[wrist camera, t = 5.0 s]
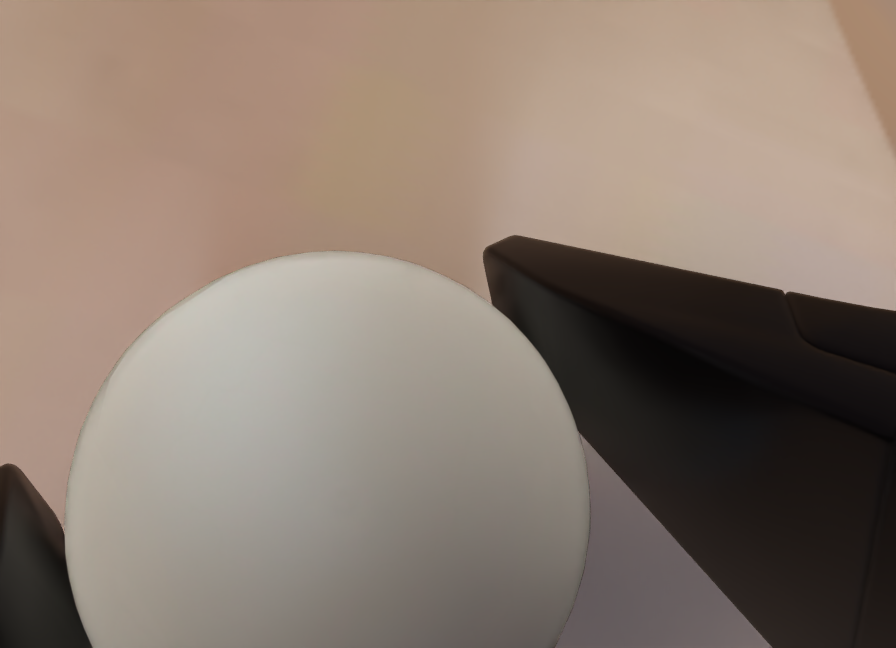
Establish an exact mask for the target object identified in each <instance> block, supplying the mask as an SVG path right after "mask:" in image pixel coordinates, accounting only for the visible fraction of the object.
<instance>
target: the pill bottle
mask: <svg viewBox="0 0 896 648" xmlns="http://www.w3.org/2000/svg"><path fill="white" fill-rule="evenodd" d="M64 531H65V555H66V562H67V569H68V575H69V580H70V584H71V588H72V592H73V597H74V601H75V605H76V608H77V610H78V613H79V616H80V619H81V621H82V624H83V627H84V629H85V632H86V634H87V636H88V638H89V640H90V643H91V645H92V647H93V648H554V647H555V646H556V644H557V642H558V640H559V637H560V635H561V633H562V631H563V628H564V626H565V624H566V622H567V619H568V617H569V615H570V613H571V611H572V608H573V606H574V602H575V599H576V596H577V593H578V589H579V586H580V582H581V579H582V576H583V572H584V568H585V561H586V555H587V548H588V541H589V534H590V491H589V480H588V472H587V465H586V460H585V455H584V451H583V447H582V443H581V439H580V436H579V433H578V430H577V427H576V424H575V420H574V417H573V415H572V413H571V410H570V408H569V405H568V403H567V401H566V399H565V397H564V395H563V393H562V390H561V388H560V386H559V384H558V382H557V380H556V379H555V377H554V375H553V374H552V372H551V370H550V369H549V367H548V365H547V364H546V362H545V360H544V359H543V358H542V356H541V355H540V353H539V352H538V351H537V349H536V348H535V347H534V346H533V345H532V343H531V342H530V341H529V340H528V339H527V338H526V336H525V335H524V334H523V333H522V332H521V331H520V330H519V329H518V328H517V327H516V326H515V325H514V324H513V323H512V322H511V320H510V319H508V318H507V317H506V316H505V315H503V314H502V313H501V312H500V311H499V310H497V309H496V308H495V307H494V306H493V305H491V304H490V303H489V302H488V301H486V300H485V299H483V298H482V297H480V296H479V295H477V294H476V293H474V292H473V291H471V290H470V289H469V288H467V287H465V286H463V285H461V284H459V283H458V282H456V281H454V280H452V279H450V278H448V277H446V276H444V275H442V274H439V273H437V272H435V271H432V270H430V269H428V268H425V267H422V266H420V265H417V264H415V263H412V262H408V261H404V260H401V259H397V258H393V257H389V256H383V255H377V254H370V253H364V252H350V251H319V252H307V253H300V254H294V255H287V256H281V257H276V258H273V259H270V260H266V261H263V262H259V263H256V264H253V265H249V266H246V267H244V268H241V269H239V270H237V271H234V272H232V273H230V274H227V275H225V276H223V277H221V278H218V279H216V280H214V281H212V282H211V283H209V284H207V285H206V286H204V287H202V288H201V289H199V290H198V291H196V292H194V293H193V294H191V295H189V296H188V297H186V298H184V299H183V300H181V301H180V302H178V303H177V304H175V305H174V306H173V307H171V308H170V309H168V310H167V311H166V312H165V313H164V314H162V315H161V316H160V317H159V318H158V319H157V320H155V321H154V322H153V323H152V324H151V325H150V326H149V327H148V328H147V329H146V330H144V331H143V332H142V333H141V334H140V335H139V336H138V337H137V338H136V339H135V341H134V342H133V343H132V344H131V345H130V346H129V347H128V348H127V349H126V350H125V352H124V353H123V355H122V356H121V357H120V359H119V360H118V361H117V363H116V364H115V366H114V367H113V369H112V370H111V372H110V373H109V375H108V376H107V377H106V379H105V380H104V382H103V384H102V386H101V388H100V389H99V391H98V393H97V395H96V397H95V398H94V400H93V402H92V405H91V407H90V409H89V412H88V414H87V416H86V419H85V421H84V423H83V426H82V428H81V430H80V434H79V437H78V441H77V444H76V448H75V451H74V455H73V460H72V464H71V469H70V474H69V478H68V484H67V495H66V506H65V529H64Z"/></svg>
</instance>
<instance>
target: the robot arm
mask: <svg viewBox="0 0 896 648" xmlns="http://www.w3.org/2000/svg"><path fill="white" fill-rule="evenodd" d="M483 263H484V267H485V272H486V277H487V282H488V286H489V291H490V296H491V301H492V305H493V306H494V307H495V308H496V309H497V310H499V311H500V312H501V313H502V314H503V315H505V316H506V317H507V318H508V319H510V320H511V322H512V323H513V324H514V325H515V326H516V327H517V328H518V329H519V330H520V331H521V332H522V333H523V334H524V335H525V336H526V338H527V339H528V340H529V341H530V342H531V343H532V345H533V346H534V347H535V348H536V349H537V351H538V352H539V353H540V355H541V356H542V358H543V359H544V360H545V362H546V364H547V365H548V367H549V369H550V370H551V372H552V374H553V375H554V377H555V379H556V380H557V382H558V384H559V386H560V388H561V390H562V393H563V395H564V397H565V399H566V401H567V403H568V405H569V408H570V410H571V413H572V415H573V417H574V420H575V424H576V427H577V430H578V431H579V433H580V434H581V435H582V436H583V437H584V438H585V439H586V440H587V441H588V443H589V444H590V445H591V446H592V447H593V448H594V449H595V450H596V452H597V453H598V454H599V455H600V456H601V457H602V458H603V459H604V460H605V462H606V463H607V464H608V465H609V466H610V467H611V468H612V469H613V470H614V472H615V473H616V474H617V475H618V476H619V477H620V478H621V479H622V481H623V482H624V483H625V484H626V485H627V486H628V487H629V488H630V489H631V491H632V492H633V493H634V494H635V495H636V496H637V497H638V498H639V499H640V501H641V502H642V503H643V504H644V505H645V506H646V507H647V508H648V509H649V511H650V512H651V513H652V514H653V515H654V516H655V517H656V518H657V520H658V521H659V522H660V523H661V524H662V525H663V526H664V527H665V528H666V530H667V531H668V532H669V533H670V534H671V535H672V536H673V537H674V538H675V540H676V541H677V542H678V543H679V544H680V545H681V546H682V547H683V549H684V550H685V551H686V552H687V553H688V554H689V555H690V556H691V557H692V559H693V560H694V561H695V562H696V563H697V564H698V565H699V566H700V567H701V569H702V570H703V571H704V572H705V573H706V574H707V575H708V576H709V577H710V579H711V580H712V581H713V582H714V583H715V584H716V585H717V586H718V588H719V589H720V590H721V591H722V592H723V593H724V594H725V595H726V596H727V598H728V599H729V600H730V601H731V602H732V603H733V604H734V605H735V606H736V608H737V609H738V610H739V611H740V612H741V613H742V614H743V615H744V617H745V618H746V619H747V620H748V621H749V622H750V623H751V624H752V625H753V627H754V628H755V629H756V630H757V631H758V632H759V633H760V634H761V635H762V637H763V638H764V639H765V640H766V641H767V642H768V643H769V644H770V645H771V647H772V648H896V311H892V310H886V309H879V308H872V307H867V306H862V305H856V304H851V303H846V302H840V301H835V300H830V299H824V298H819V297H814V296H810V295H805V294H800V293H795V292H787V293H786V295H785V294H784V292H783V291H782V290H780V289H775V288H770V287H765V286H761V285H756V284H751V283H746V282H741V281H736V280H731V279H727V278H722V277H717V276H712V275H707V274H702V273H698V272H693V271H688V270H683V269H678V268H673V267H669V266H664V265H659V264H654V263H649V262H644V261H640V260H635V259H630V258H625V257H620V256H615V255H611V254H606V253H601V252H596V251H591V250H586V249H581V248H577V247H572V246H567V245H562V244H557V243H552V242H548V241H543V240H538V239H533V238H528V237H523V236H518V235H513V236H510V237H507V238H505V239H503V240H501V241H499V242H496V243H494V244H492V245H490V246H488V247H486V248H485V250H484V252H483ZM0 648H93V647H92V645H91V643H90V640H89V638H88V636H87V634H86V632H85V629H84V627H83V624H82V621H81V619H80V616H79V613H78V610H77V608H76V605H75V601H74V597H73V592H72V588H71V584H70V580H69V575H68V569H67V562H66V555H65V535H64V532H63V529H62V527H61V524H60V522H59V520H58V518H57V517H56V515H55V513H54V512H53V511H52V509H51V508H50V507H49V505H48V504H47V503H46V501H45V500H44V499H43V498H42V496H41V495H40V494H39V492H38V491H37V490H36V489H35V487H34V486H33V485H32V483H31V482H30V481H29V479H28V478H27V477H26V476H25V474H24V473H23V472H22V471H21V469H19V468H18V467H17V466H15V465H13V464H4V465H2V466H0Z"/></svg>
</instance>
